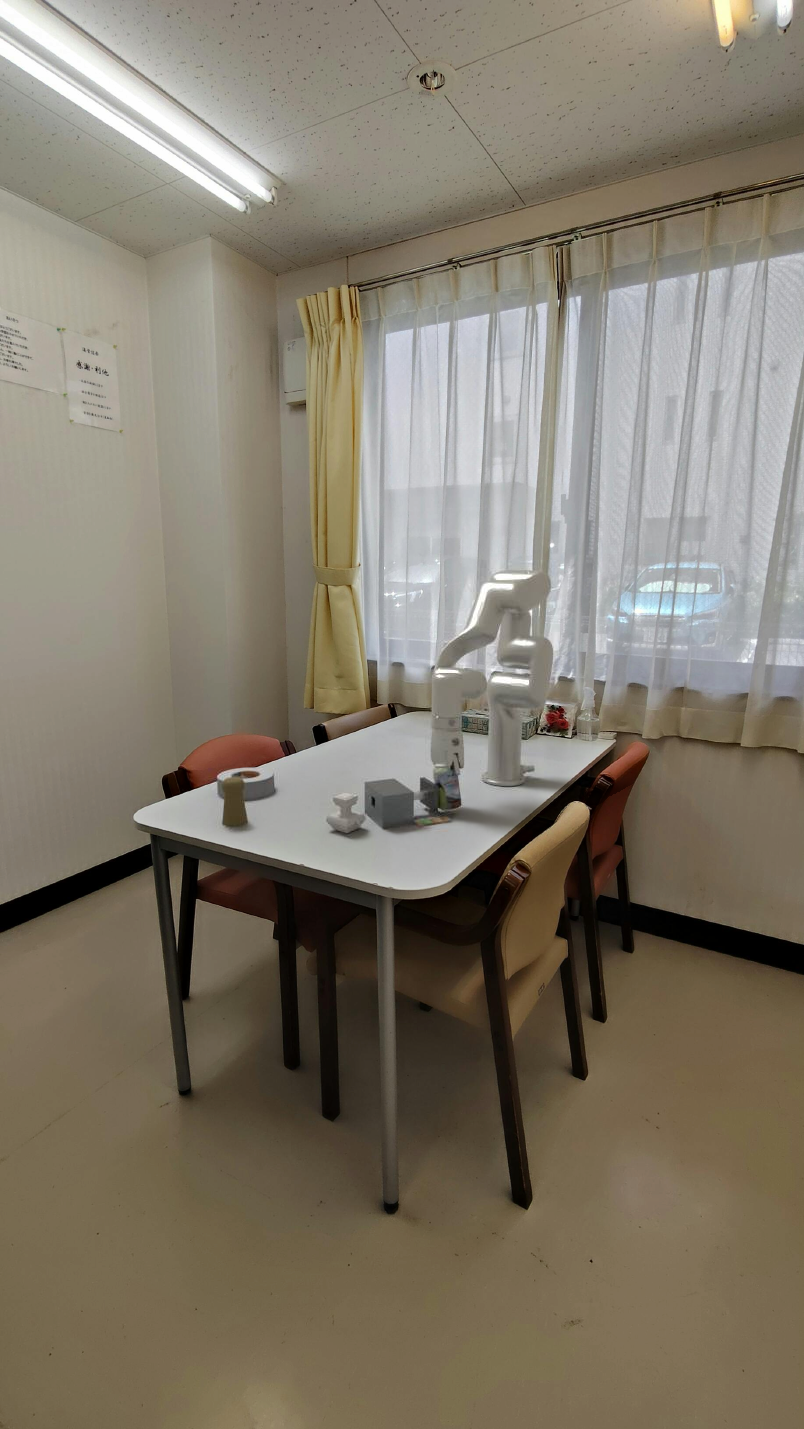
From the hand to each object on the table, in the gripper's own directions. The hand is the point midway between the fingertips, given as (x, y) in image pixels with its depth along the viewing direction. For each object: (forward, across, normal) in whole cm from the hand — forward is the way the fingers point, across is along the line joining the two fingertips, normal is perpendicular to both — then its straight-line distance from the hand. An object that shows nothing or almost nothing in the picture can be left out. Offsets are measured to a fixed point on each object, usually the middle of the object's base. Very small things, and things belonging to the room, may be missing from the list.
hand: (445, 792), depth 166 cm
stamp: (+5, -3, +28) cm, 28 cm away
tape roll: (+5, +35, +43) cm, 56 cm away
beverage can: (+4, -2, +1) cm, 4 cm away
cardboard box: (+4, -6, +7) cm, 10 cm away
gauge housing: (+4, 0, +16) cm, 16 cm away
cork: (+5, +12, +50) cm, 52 cm away
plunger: (+3, -2, +9) cm, 9 cm away
